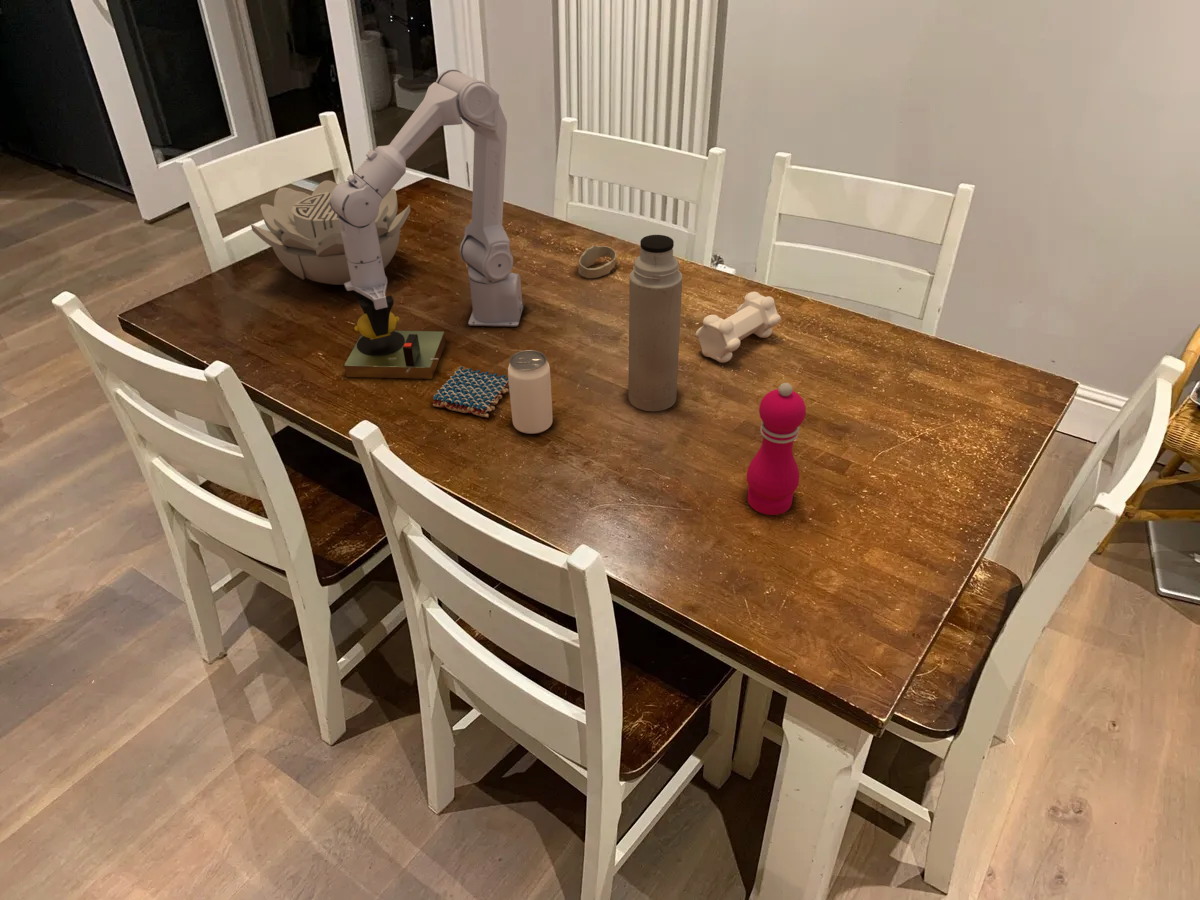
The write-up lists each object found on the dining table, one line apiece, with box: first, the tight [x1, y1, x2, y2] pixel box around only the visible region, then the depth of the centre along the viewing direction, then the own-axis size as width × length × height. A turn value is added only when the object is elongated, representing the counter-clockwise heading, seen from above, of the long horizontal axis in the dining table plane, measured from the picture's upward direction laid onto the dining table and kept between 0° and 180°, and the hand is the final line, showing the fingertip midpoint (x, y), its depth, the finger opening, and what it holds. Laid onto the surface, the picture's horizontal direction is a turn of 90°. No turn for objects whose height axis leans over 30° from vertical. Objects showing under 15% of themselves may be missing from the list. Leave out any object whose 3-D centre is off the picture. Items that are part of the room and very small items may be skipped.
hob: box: [343, 330, 447, 380], centre depth 152 cm, size 16×14×3 cm
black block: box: [403, 334, 420, 366], centre depth 148 cm, size 5×2×4 cm, turn 176°
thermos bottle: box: [627, 234, 683, 412], centre depth 134 cm, size 8×8×28 cm
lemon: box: [353, 311, 400, 340], centre depth 151 cm, size 8×4×4 cm, turn 116°
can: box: [507, 349, 554, 435], centre depth 134 cm, size 6×6×12 cm
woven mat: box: [432, 366, 510, 419], centre depth 143 cm, size 10×11×2 cm
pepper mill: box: [746, 382, 807, 516], centre depth 116 cm, size 7×7×20 cm
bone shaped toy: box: [694, 291, 782, 364], centre depth 153 cm, size 15×9×8 cm, turn 135°
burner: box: [356, 330, 405, 356], centre depth 153 cm, size 8×8×1 cm
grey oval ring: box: [577, 244, 617, 279], centre depth 178 cm, size 9×6×5 cm
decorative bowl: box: [250, 179, 411, 286], centre depth 176 cm, size 30×30×15 cm
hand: (377, 327), depth 151 cm, fingers closed on lemon, 4 cm apart
